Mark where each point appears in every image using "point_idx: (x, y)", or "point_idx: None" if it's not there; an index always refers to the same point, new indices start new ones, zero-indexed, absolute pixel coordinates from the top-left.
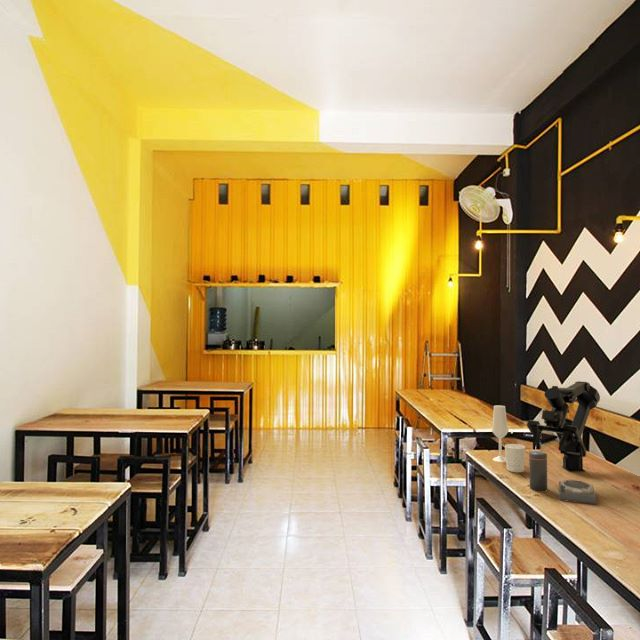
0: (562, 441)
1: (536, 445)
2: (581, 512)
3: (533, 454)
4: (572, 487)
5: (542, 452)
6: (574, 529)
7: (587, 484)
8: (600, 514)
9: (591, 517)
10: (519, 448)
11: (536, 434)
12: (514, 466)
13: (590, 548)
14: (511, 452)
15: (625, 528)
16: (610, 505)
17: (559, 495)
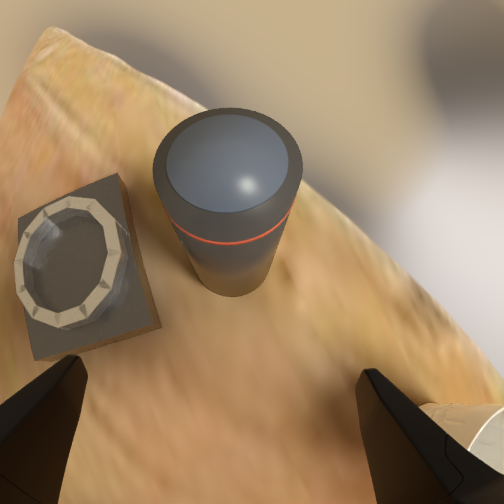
0: (9, 412)
1: (357, 406)
2: (66, 142)
3: (245, 119)
4: (84, 272)
5: (202, 205)
6: (86, 66)
7: (29, 294)
8: (28, 164)
9: (48, 132)
10: (470, 444)
11: (437, 472)
12: (427, 411)
13: (70, 43)
14: (483, 407)
15: (3, 134)
16: (3, 252)
17: (120, 178)
